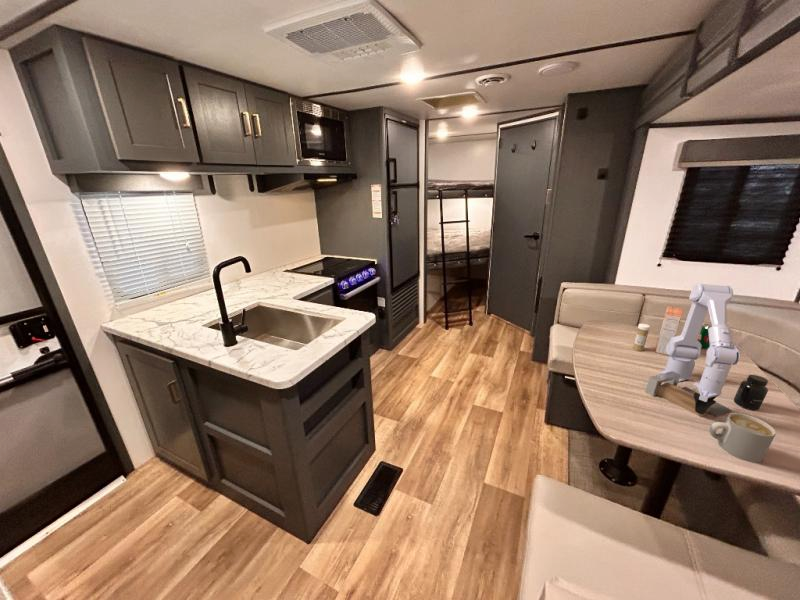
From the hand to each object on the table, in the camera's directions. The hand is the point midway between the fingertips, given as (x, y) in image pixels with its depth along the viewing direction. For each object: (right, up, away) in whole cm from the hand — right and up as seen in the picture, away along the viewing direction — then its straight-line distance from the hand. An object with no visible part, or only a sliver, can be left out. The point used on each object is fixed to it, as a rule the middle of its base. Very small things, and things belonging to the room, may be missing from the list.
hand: (701, 409), depth 113 cm
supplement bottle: (+21, 0, +4) cm, 21 cm away
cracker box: (+24, +15, +44) cm, 53 cm away
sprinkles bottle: (+11, +15, +45) cm, 48 cm away
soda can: (+45, +16, +46) cm, 66 cm away
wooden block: (-2, 0, +5) cm, 6 cm away
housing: (-4, +3, +13) cm, 14 cm away
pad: (+5, +1, +6) cm, 8 cm away
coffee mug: (-4, -7, -14) cm, 17 cm away
